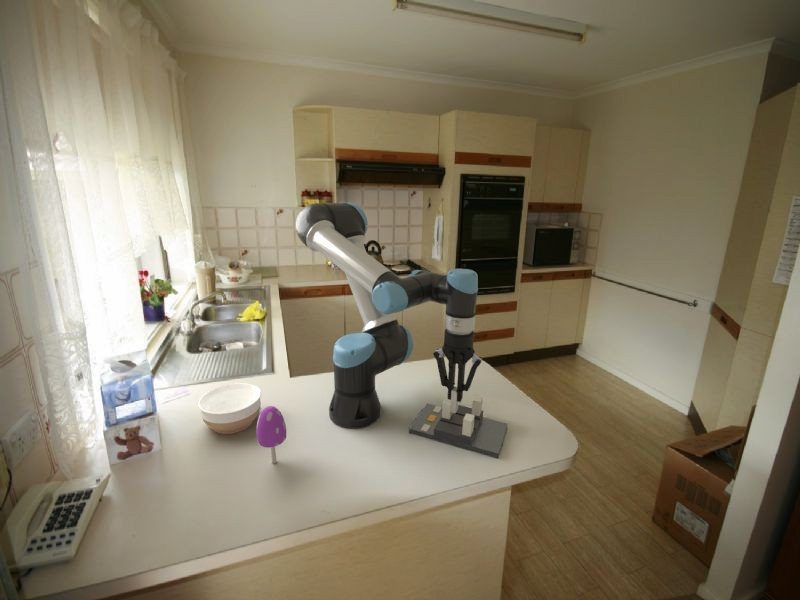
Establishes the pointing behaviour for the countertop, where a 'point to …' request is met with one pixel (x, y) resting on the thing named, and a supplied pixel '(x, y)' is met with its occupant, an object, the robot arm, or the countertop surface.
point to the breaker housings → (461, 423)
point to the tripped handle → (446, 409)
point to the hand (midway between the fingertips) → (454, 410)
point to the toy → (271, 429)
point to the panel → (483, 443)
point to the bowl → (230, 407)
